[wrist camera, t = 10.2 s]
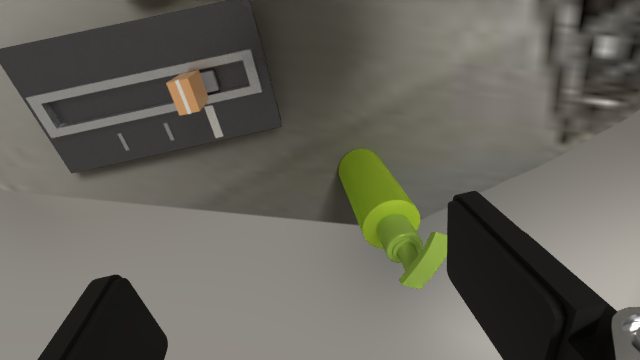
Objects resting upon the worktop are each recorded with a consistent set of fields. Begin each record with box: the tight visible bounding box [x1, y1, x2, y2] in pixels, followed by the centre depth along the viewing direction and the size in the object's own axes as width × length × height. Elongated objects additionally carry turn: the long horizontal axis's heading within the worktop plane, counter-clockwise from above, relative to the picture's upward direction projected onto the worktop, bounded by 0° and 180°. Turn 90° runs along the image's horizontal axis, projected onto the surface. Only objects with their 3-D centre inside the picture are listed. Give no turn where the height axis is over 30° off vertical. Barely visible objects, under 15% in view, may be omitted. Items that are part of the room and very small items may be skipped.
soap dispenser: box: [338, 149, 447, 289], centre depth 33 cm, size 6×7×20 cm
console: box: [0, 0, 281, 173], centre depth 33 cm, size 13×24×4 cm, turn 101°
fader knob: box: [166, 70, 220, 115], centre depth 29 cm, size 3×4×6 cm
